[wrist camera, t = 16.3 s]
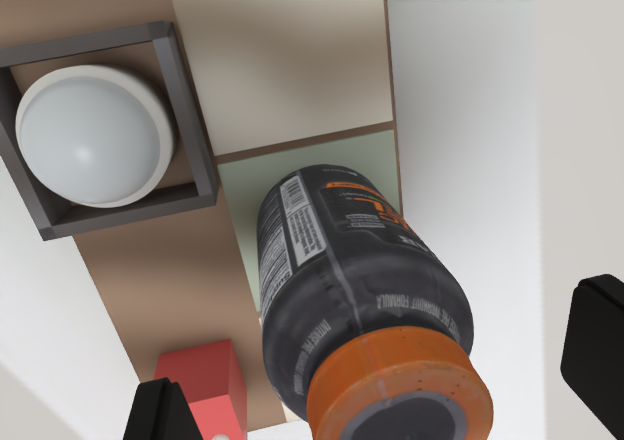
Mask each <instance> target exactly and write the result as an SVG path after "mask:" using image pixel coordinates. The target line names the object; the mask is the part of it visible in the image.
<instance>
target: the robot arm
mask: <svg viewBox="0 0 624 440" xmlns="http://www.w3.org/2000/svg"><path fill="white" fill-rule="evenodd" d="M560 370H561V373H562V376H563V378H564V380H565V382H566V383H567V384H568V385H569V387H570V388H571V389H572V390H573V391H574V392H575V393H576V394H577V395H578V397H579V398H580V399H581V400H582V401H583V402H584V403H585V404H586V406H587V407H588V408H589V409H590V410H591V411H592V412H593V413H594V415H595V416H596V417H597V418H598V419H599V420H600V421H601V422H602V424H603V425H604V426H605V427H606V428H607V429H608V430H609V431H610V433H611V434H612V435H613V436H614V437H615V438H616V439H617V440H624V283H623V282H622V281H620V280H619V279H617V278H616V277H614V276H612V275H610V274H603V275H600V276H595V277H591V278H586V279H583V280H581V281H580V282H579V284H578V287H576V288H575V289H574V291H573V296H572V303H571V308H570V314H569V320H568V325H567V332H566V337H565V343H564V349H563V355H562V361H561V367H560ZM123 440H204V439H203V437H202V435H201V433H200V430H199V428H198V426H197V423H196V421H195V419H194V417H193V414H192V412H191V410H190V407H189V405H188V403H187V401H186V398H185V396H184V394H183V391H182V389H181V387H180V385H179V383H178V382H173V383H171V381H170V380H169V378H167V377H164V378H160V379H156V380H151V381H147V382H143V383H140V384H139V385H138V387H137V390H136V394H135V397H134V401H133V404H132V408H131V412H130V415H129V419H128V423H127V426H126V430H125V433H124V437H123Z"/></svg>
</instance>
